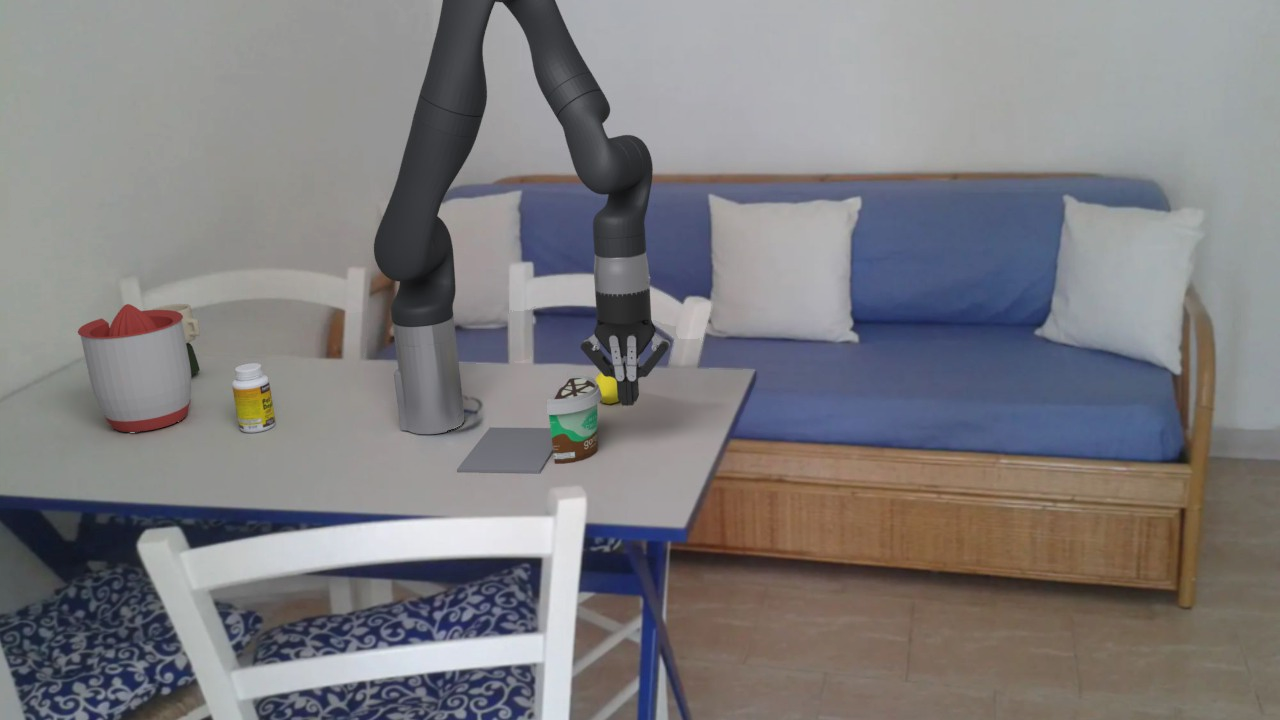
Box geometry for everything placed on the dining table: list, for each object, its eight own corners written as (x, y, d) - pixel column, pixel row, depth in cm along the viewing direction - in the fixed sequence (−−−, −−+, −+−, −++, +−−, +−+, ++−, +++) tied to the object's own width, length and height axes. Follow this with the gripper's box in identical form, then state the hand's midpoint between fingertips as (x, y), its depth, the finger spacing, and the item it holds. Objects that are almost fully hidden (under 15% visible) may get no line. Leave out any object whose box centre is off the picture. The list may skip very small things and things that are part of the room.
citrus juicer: (182, 395, 199) (161, 285, 193) (212, 421, 186) (191, 303, 179) (87, 418, 190) (62, 303, 184) (111, 447, 177) (85, 323, 171)
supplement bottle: (270, 433, 179) (260, 371, 176) (235, 435, 179) (224, 373, 176) (280, 420, 184) (270, 360, 181) (245, 422, 184) (235, 362, 181)
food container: (594, 469, 158) (589, 401, 155) (551, 468, 159) (546, 400, 156) (613, 436, 169) (609, 372, 166) (574, 435, 171) (569, 372, 168)
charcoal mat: (457, 471, 160) (456, 469, 160) (490, 429, 175) (489, 427, 175) (539, 473, 158) (539, 470, 158) (566, 430, 173) (565, 428, 173)
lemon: (622, 412, 181) (618, 381, 178) (589, 410, 182) (586, 380, 180) (633, 391, 187) (630, 362, 184) (602, 390, 188) (598, 361, 186)
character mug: (145, 381, 208) (131, 313, 204) (170, 369, 215) (157, 302, 211) (195, 384, 205) (182, 314, 201) (219, 371, 212) (207, 304, 208)
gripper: (568, 292, 153) (577, 412, 159) (665, 291, 151) (671, 413, 156) (580, 278, 160) (588, 394, 166) (673, 277, 158) (678, 395, 163)
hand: (629, 403), depth 161 cm, fingers closed
